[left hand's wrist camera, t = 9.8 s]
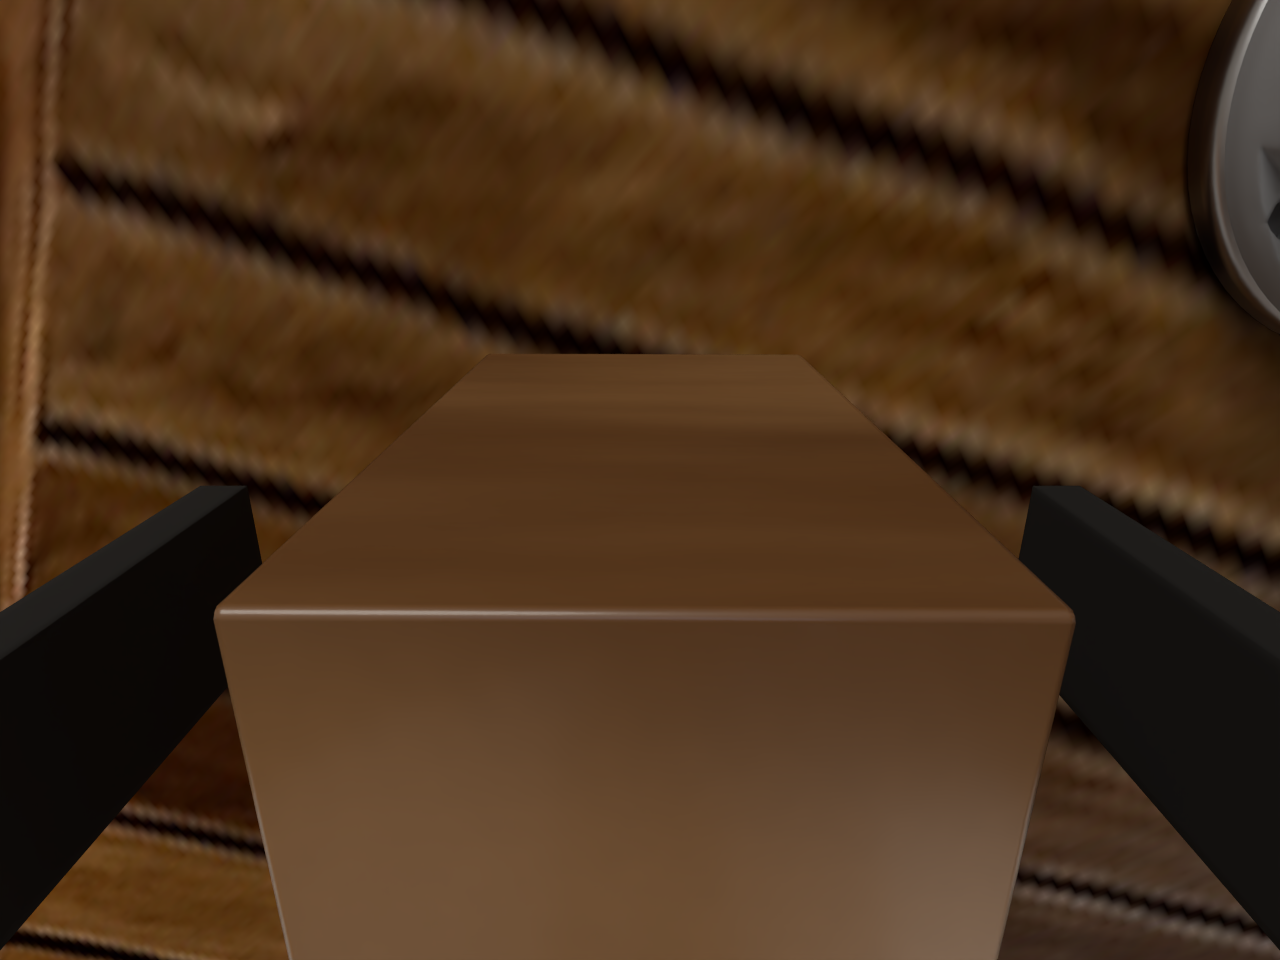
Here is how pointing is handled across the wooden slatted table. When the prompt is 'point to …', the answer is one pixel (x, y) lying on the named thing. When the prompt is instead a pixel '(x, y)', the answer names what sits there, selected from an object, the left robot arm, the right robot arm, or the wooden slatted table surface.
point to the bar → (643, 681)
